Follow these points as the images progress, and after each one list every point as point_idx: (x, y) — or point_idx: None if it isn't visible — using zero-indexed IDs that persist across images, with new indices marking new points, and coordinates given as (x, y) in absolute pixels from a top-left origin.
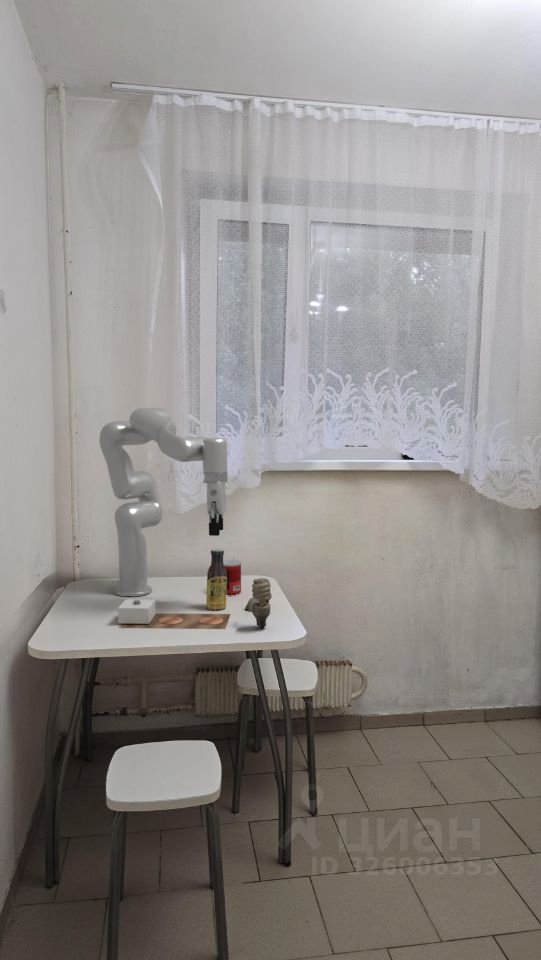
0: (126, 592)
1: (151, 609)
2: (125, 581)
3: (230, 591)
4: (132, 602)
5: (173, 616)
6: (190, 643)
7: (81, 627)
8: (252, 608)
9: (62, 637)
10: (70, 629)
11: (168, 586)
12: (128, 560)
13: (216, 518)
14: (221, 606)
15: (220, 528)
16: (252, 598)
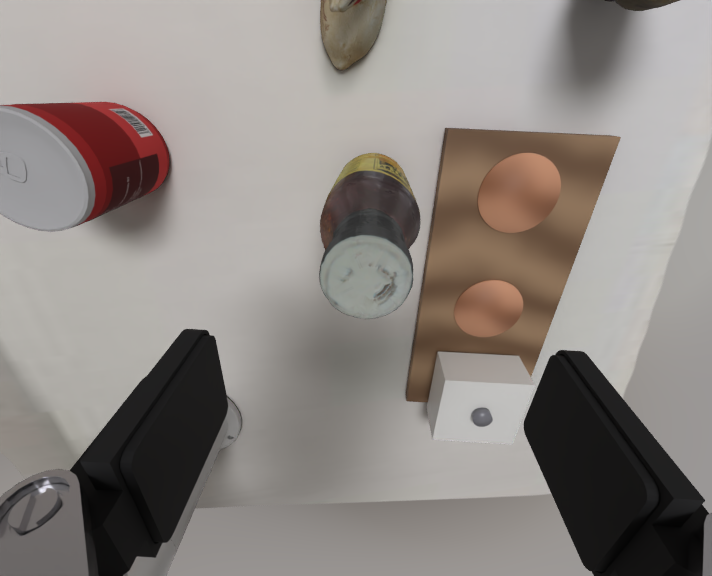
0: (229, 430)
1: (494, 373)
2: (216, 456)
3: (160, 147)
4: (464, 424)
5: (455, 307)
6: (667, 237)
7: (468, 457)
8: (660, 6)
9: (524, 471)
10: (477, 469)
11: (114, 349)
12: (190, 512)
13: (158, 518)
14: (402, 170)
15: (210, 362)
16: (356, 25)
